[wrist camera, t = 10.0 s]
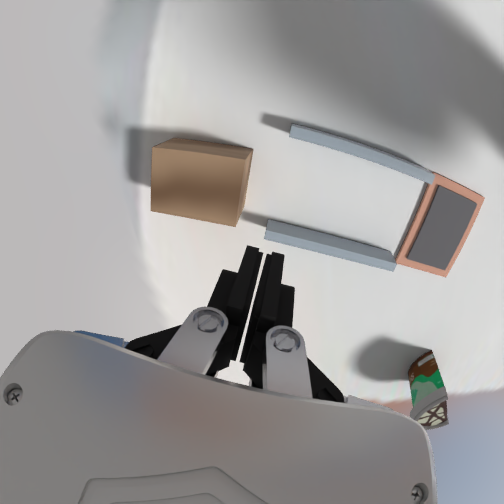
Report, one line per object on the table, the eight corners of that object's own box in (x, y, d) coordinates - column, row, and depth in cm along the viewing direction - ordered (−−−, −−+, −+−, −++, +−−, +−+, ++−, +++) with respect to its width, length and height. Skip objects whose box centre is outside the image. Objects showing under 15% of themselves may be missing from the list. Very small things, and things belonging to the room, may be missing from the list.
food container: (395, 359, 38) (407, 414, 30) (430, 344, 36) (448, 397, 27) (407, 392, 43) (415, 437, 34) (436, 380, 40) (448, 424, 32)
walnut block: (174, 137, 26) (152, 147, 22) (253, 148, 26) (245, 159, 22) (170, 192, 29) (150, 211, 25) (244, 205, 29) (235, 227, 25)
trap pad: (432, 171, 24) (435, 173, 23) (482, 196, 24) (486, 198, 23) (394, 261, 30) (396, 264, 29) (444, 275, 29) (446, 278, 29)
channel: (291, 123, 24) (291, 125, 22) (425, 168, 24) (435, 175, 22) (266, 227, 30) (263, 239, 28) (387, 259, 30) (393, 271, 27)
